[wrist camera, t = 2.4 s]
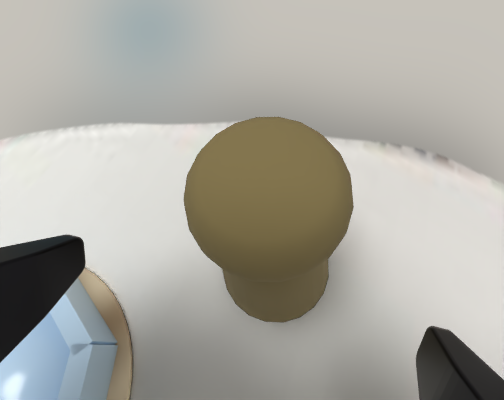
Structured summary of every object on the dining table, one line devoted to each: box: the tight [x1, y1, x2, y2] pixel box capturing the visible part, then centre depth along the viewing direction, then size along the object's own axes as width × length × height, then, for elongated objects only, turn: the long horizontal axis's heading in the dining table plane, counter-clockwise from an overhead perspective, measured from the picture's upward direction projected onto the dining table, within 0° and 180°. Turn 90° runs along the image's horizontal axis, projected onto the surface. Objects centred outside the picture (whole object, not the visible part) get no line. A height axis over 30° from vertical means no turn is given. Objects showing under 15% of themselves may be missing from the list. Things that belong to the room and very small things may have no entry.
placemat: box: [78, 268, 133, 400], centre depth 17 cm, size 14×14×1 cm
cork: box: [184, 117, 353, 322], centre depth 14 cm, size 6×6×11 cm
